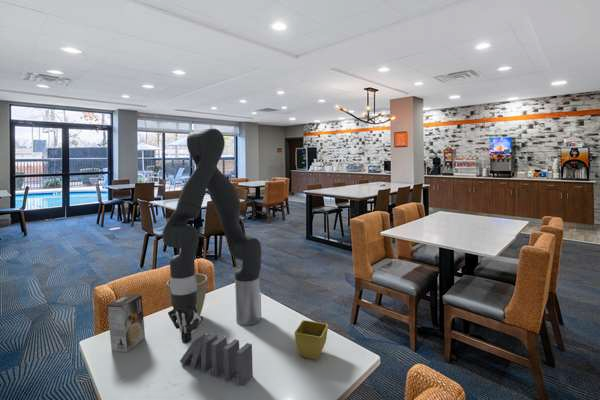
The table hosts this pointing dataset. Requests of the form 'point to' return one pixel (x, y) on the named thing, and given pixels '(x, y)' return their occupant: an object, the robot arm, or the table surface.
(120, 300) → the coffee box
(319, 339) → the flower pot
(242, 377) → the domino
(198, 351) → the domino
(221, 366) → the domino
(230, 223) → the robot arm
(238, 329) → the table surface
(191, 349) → the domino
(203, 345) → the domino
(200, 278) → the plant pot
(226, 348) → the domino
